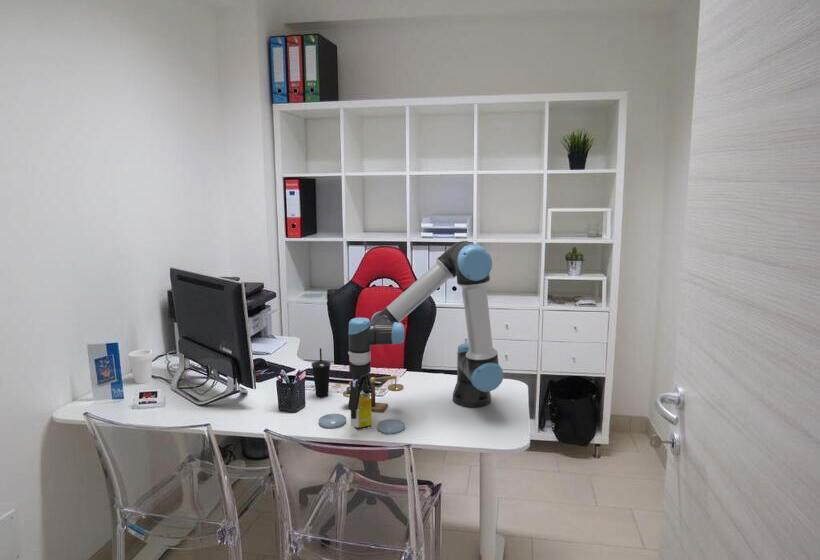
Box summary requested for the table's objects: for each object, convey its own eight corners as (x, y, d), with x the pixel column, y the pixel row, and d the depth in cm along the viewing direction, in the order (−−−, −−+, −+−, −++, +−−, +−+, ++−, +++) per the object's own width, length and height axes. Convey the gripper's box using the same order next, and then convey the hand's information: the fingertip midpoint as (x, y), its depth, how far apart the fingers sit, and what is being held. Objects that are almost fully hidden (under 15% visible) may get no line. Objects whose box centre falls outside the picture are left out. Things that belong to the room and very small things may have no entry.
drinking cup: (328, 399, 231) (326, 352, 227) (310, 398, 233) (307, 350, 229) (334, 392, 239) (332, 346, 235) (316, 391, 240) (314, 345, 236)
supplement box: (351, 423, 210) (350, 395, 208) (366, 420, 212) (366, 392, 210) (356, 430, 205) (355, 401, 203) (372, 427, 207) (371, 398, 205)
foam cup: (127, 381, 252) (124, 353, 250) (148, 375, 259) (145, 348, 257) (137, 386, 246) (134, 357, 244) (159, 380, 253) (156, 352, 251)
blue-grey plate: (407, 423, 210) (407, 420, 210) (401, 435, 200) (401, 432, 200) (381, 420, 212) (381, 417, 212) (373, 433, 202) (373, 429, 202)
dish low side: (350, 418, 215) (350, 414, 214) (341, 429, 205) (340, 426, 205) (324, 415, 217) (324, 412, 217) (314, 427, 207) (314, 424, 207)
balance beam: (405, 395, 222) (405, 373, 220) (401, 401, 216) (401, 379, 215) (345, 390, 227) (345, 369, 226) (340, 396, 222) (340, 374, 220)
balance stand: (387, 406, 225) (387, 379, 222) (383, 412, 219) (383, 384, 217) (363, 404, 227) (362, 377, 225) (358, 410, 221) (357, 382, 219)
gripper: (360, 350, 217) (361, 403, 221) (337, 373, 193) (339, 432, 197) (379, 351, 215) (380, 405, 219) (359, 374, 191) (360, 434, 195)
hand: (360, 418), depth 208 cm, fingers open, 13 cm apart
